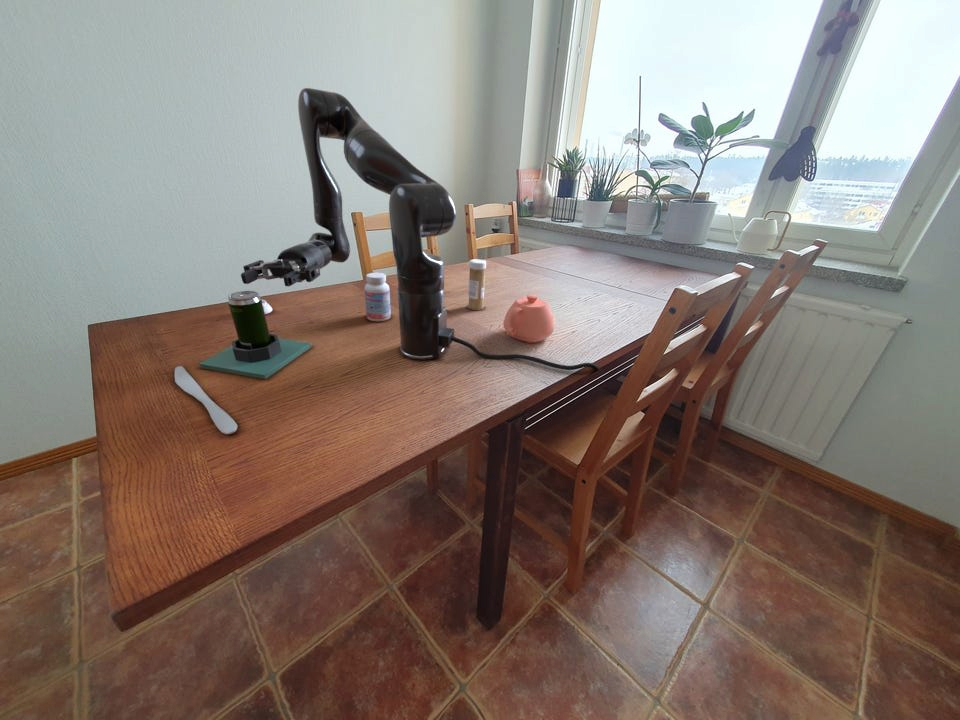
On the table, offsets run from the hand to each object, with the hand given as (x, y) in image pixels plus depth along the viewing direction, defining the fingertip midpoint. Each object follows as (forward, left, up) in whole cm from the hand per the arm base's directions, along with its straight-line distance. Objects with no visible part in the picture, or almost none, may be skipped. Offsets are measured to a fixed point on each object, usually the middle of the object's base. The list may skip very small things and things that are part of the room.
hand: (264, 280), depth 75 cm
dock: (-1, +7, -14) cm, 15 cm away
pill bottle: (-14, -20, -14) cm, 28 cm away
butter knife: (-2, +22, -14) cm, 26 cm away
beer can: (-1, +7, -13) cm, 15 cm away
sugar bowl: (-52, -21, -14) cm, 58 cm away
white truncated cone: (+15, -13, -14) cm, 25 cm away
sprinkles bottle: (-36, -36, -14) cm, 53 cm away
